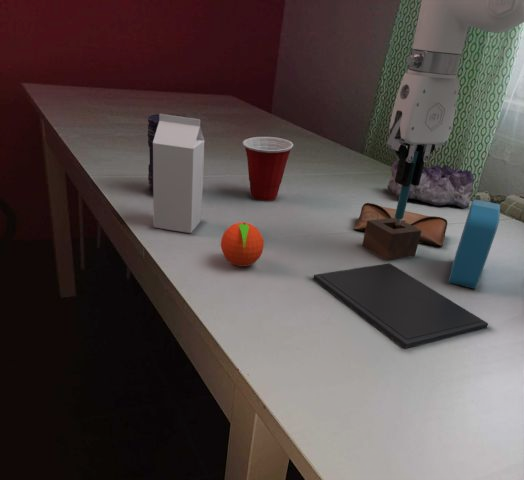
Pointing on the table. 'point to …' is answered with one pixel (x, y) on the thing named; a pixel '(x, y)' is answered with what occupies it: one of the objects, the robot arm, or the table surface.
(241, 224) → the clementine
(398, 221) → the stylus
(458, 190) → the geode
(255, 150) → the plastic cup
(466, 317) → the tablet
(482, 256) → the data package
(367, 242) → the pen stand
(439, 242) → the sunglasses case
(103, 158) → the table surface
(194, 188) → the milk carton
